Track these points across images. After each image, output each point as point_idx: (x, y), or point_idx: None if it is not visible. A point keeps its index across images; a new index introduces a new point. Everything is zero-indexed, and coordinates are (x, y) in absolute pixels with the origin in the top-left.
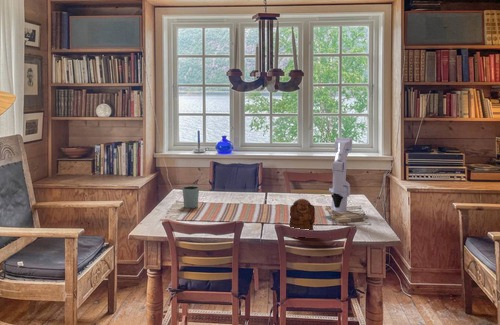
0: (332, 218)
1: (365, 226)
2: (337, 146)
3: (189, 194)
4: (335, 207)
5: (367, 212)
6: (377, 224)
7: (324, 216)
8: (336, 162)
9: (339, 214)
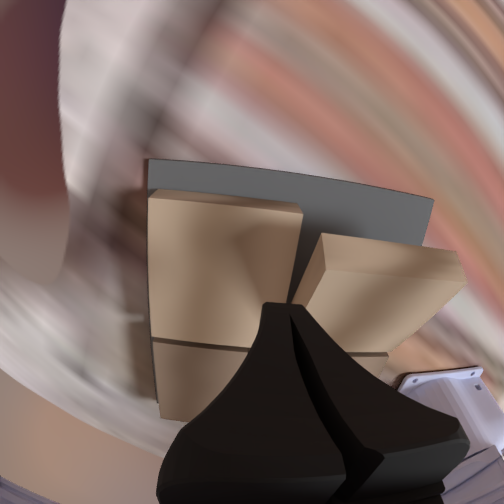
0: (277, 205)
1: (39, 320)
2: None
3: None
4: (285, 303)
5: None
6: (74, 398)
7: (417, 223)
8: None
9: None
